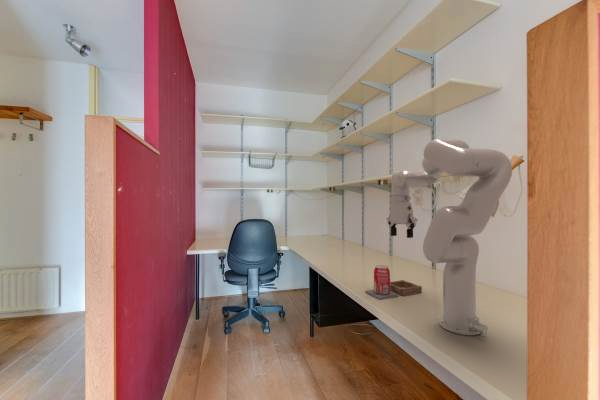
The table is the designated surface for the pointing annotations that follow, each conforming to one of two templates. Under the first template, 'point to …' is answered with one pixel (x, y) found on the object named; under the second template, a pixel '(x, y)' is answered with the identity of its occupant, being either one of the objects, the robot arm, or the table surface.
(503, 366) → the table surface
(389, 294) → the mat
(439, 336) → the table surface
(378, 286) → the soda can
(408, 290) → the brown wooden tray
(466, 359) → the table surface
